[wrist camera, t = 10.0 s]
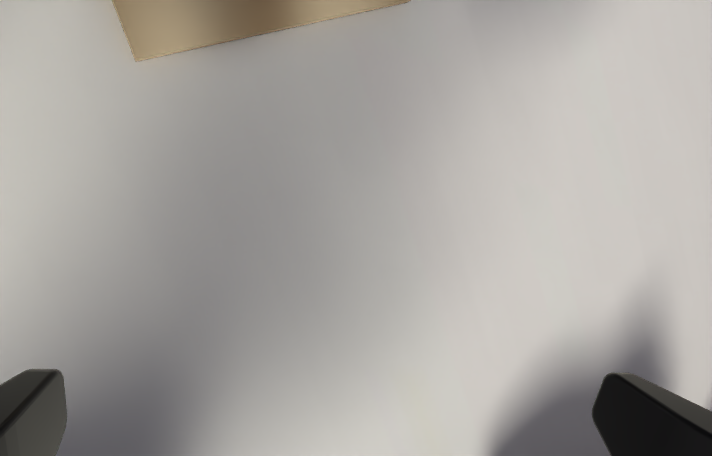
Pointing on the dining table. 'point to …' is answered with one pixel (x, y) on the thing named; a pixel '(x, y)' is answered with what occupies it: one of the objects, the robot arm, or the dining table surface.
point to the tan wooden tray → (221, 20)
